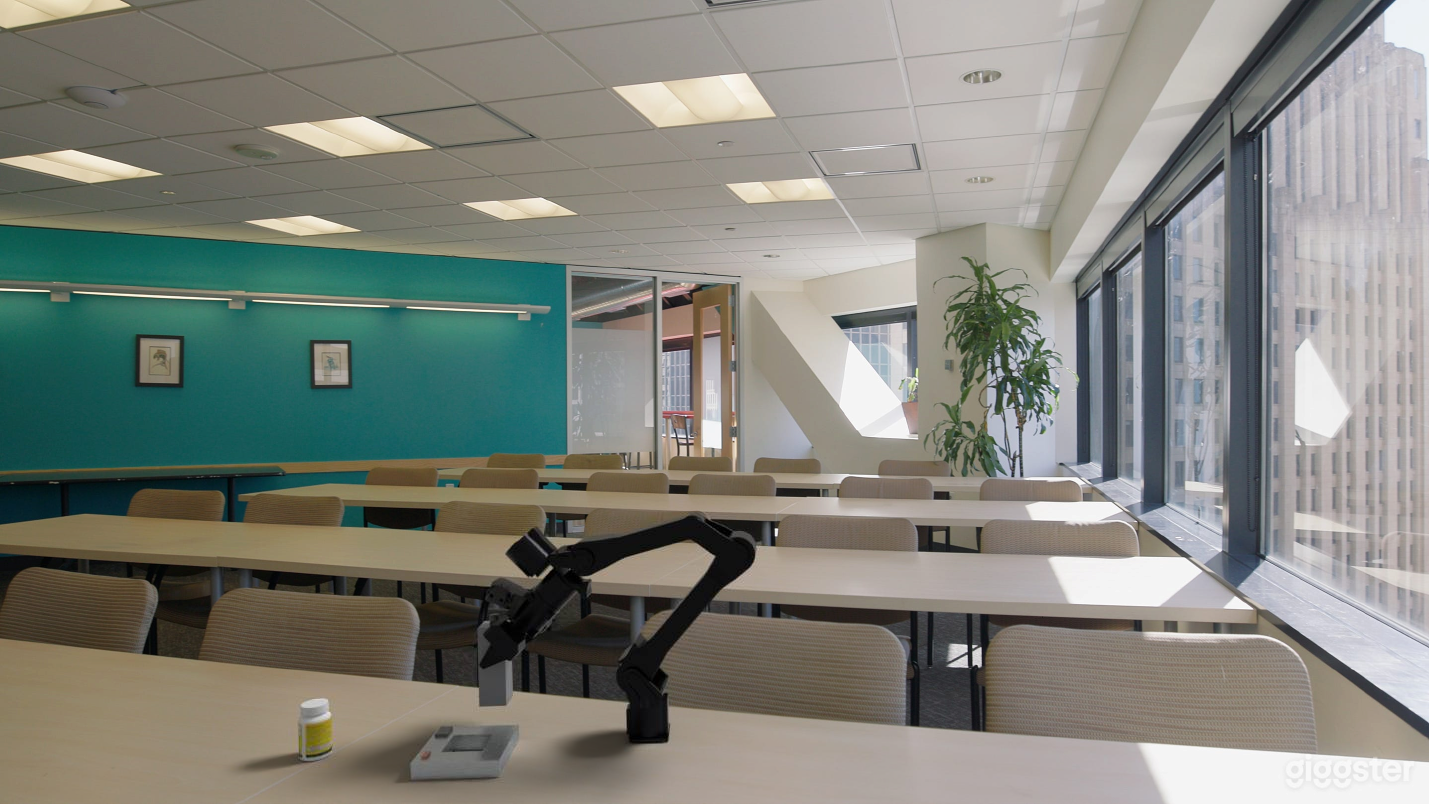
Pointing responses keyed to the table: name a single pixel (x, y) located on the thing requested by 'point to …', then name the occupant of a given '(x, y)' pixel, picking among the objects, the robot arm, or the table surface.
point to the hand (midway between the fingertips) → (487, 662)
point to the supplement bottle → (315, 730)
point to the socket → (447, 764)
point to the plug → (493, 673)
